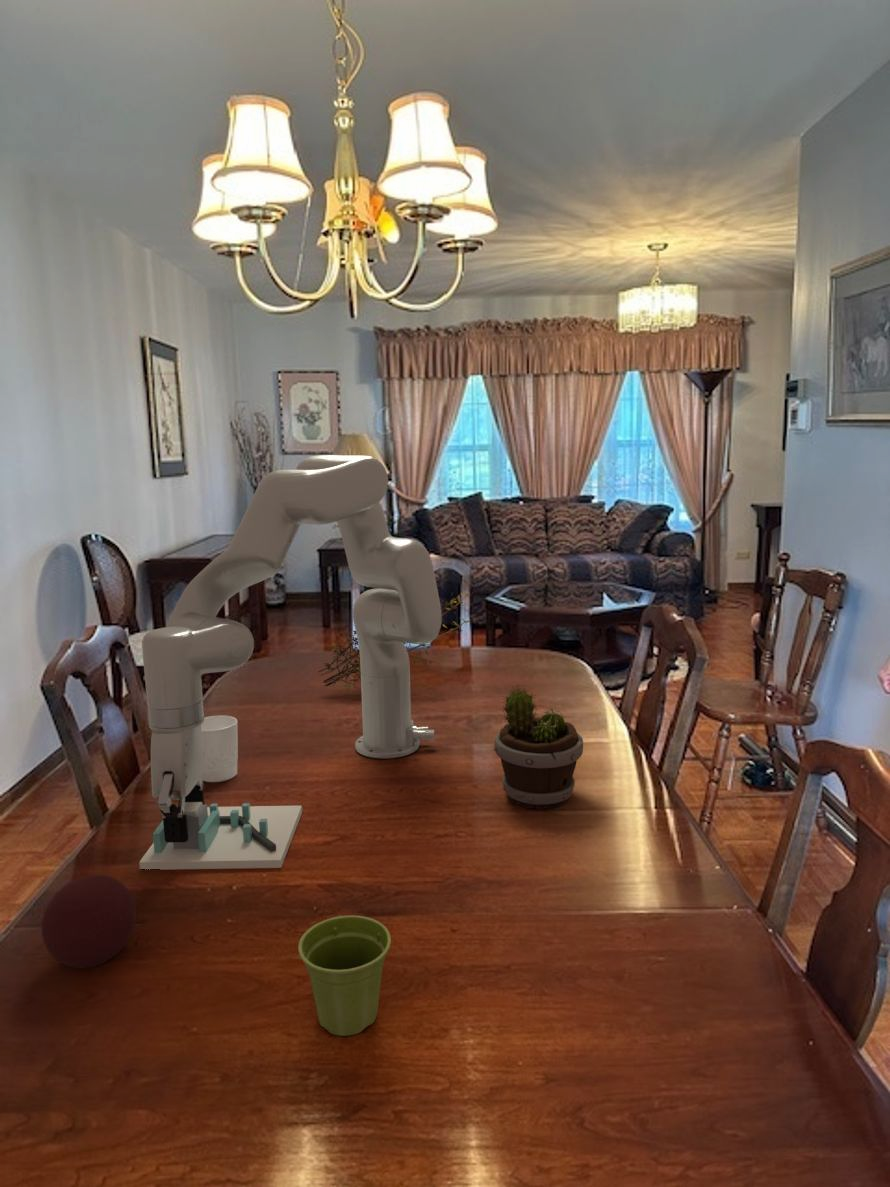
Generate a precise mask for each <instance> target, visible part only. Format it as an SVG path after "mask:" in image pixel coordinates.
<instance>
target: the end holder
mask: <svg viewBox="0 0 890 1187" xmlns="http://www.w3.org/2000/svg"><path fill="white" fill-rule="evenodd" d="M217 833H218V825H217V814H210V815H209V816H208V818H207V819H206V821H205V823H204V824H203V826H202V827H201V829H200V831H199V832H198V841H199V852H207V850H208V849H209V847H210V845H211V843H212V842H213V840H214V838H215V836H216V835H217ZM152 841H153V843H154V853H162V851H163V850H164V848H165V847H166V846H167V844H168V842H166V841H165V836H164V824H163V820H162V821H160V823H159V825H158V826H157V827H156V828H155V830H154V832H153V833H152Z"/></svg>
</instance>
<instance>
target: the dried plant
mask: <svg viewBox="0 0 890 1187" xmlns="http://www.w3.org/2000/svg"><path fill="white" fill-rule="evenodd" d="M465 581H467V578H466V579H465ZM464 586H467V583H465V585H464ZM458 588H459V590H460V593H459V594H458V595H457V597H456V598H455V596H452V599H451V600H450V602H448V601H445V603H444V602H443V599H442V598H440V600H441V601H440V602H442V603H444V604H443V605H444V607H443V608H441V612H442V611H443V610H444V609H445V610H446V611H445V612H443V613H441V614H442V616H443V615H445V614H447V613H448V612H450V611H451V610H457V609H458V605H459V604H460V605H462V606H465V605H464V604H463V601H464V599H465V598H468V597H471V596H472V595H474V596H476V594H474V593H473V594H469V593H467V592H466V591H465V592H464V588H461V587H458ZM463 592H464V593H465V597H463V598H460V596H461V595H463ZM453 593H454V592H451V594H453ZM468 599H469V601H470V598H468ZM456 600H457V601H458V603H457V601H456ZM454 603H455V605H453V604H454ZM449 605H450V607H451V608H450V607H448V606H449ZM453 612H454V614H455V615H456V614H457V612H456V611H453ZM471 618H472V620H473V621H476V618H475V617H473V615H472V616H471ZM459 620H461V621H463V622H462V623H461V624H459V623H457V622H455V621H452V622H453V625H454V626H456V627H455V628H454V627H453V628H452V627H451V628H450V629H449V630H448V631H446V632H444V633H442V634H440V635H437V637H436V638H435V639H437V638H440V637H442V636H445V635H446V634H448V633H450V632H452V638H453V639H455V637H457V630H456V629H458V630H459V631H460V633H462V631H463V630H462V628H461V626H462V625H463V624H466V625H467V626H466V627H467V628H466V629H467V630H468V628H469V627H468V623H471V619H469V620H465V619H464V618H461V617H459ZM442 627H444V628H446V629H448V627H447V626H446V625H445V623H444V624H442ZM347 629H348V630H349V637H348V636H347V635H345V636H346V642H345V643H344V644H343V645H342V646H341V644H340V639H337V640H338V641H337V644H338V647H339V648H338V647H336V646H335V645H332V647H331V649H333V653H331V654H332V655H334V656H333V658H332V661H331V663H330V664H329V663H326V662H325V663H323V664H324V667H326V668H323V669H320V670H319V671H318V673H320V672H323V671H325V670H327V672H325V673H322V674H319V677H320V676H321V677H322V676H324V675H326V674H329V673H330V674H331V673H332V672H334V671H335V670H337V671H338V672H337V673H335V674H333V675H332V676H330V677H328V678H326V679H324V680H323V681H322V683H324V685H323V687H329V686H330V685H332V684H333V685H336V684H337V682H339V681H340V682H343V683H341V685H344V687H346V686H347V688H346V690H350V689H351V686H352V685H353V687H354V688H355V689H357V686H355V684H357V683H361V667H360V661H359V662H358V660H357V659H359V660H360V651H359V649H358V648H359V643H358V638H357V636H355V635H357V634H356V630H350V629H352V626H351V625H350V626H349V627H347ZM352 632H353V635H352ZM435 639H434V640H435ZM434 640H433V641H431V645H435V641H434ZM349 642H351V643H349ZM348 643H349V644H348ZM403 643H404V642H403ZM346 644H348V646H347V647H344V646H345V645H346ZM404 645H405V647H406V649H408V648H410V647H411V646H412V644H410V643H404ZM429 645H430V643H427V644H418V645H417V646H415V647H412V648H411V649H408V650H407V652H411V651H413V650H415V649H417V648H419V647H422V648H423V649H425V648H428V649H431V647H430V646H429ZM357 646H358V647H357ZM424 647H425V648H424ZM348 650H349V651H348ZM356 650H357V651H356ZM355 652H356V653H355ZM351 653H352V654H351ZM425 653H426V655H427V656H429V653H428V652H427V650H426V649H425ZM335 655H336V656H335ZM341 657H344V659H341ZM410 657H412V658H413V662H414V664H416V663H420V662H422V664H425V661H426V662H428V663H429V666H430V667H431V666H432V663H436V664H437V662H435V661H434V660H426V659H423V658H421V657H417V656H412V655H410ZM354 659H355V660H354ZM352 660H354V661H353V663H352ZM419 660H420V661H419ZM335 663H336V666H335V667H331V666H332V665H333V664H335ZM343 665H344V666H343ZM349 665H350V666H351V667H349ZM342 666H343V668H342V669H341V671H340V667H342ZM438 666H441V662H438ZM358 673H359V674H358ZM413 673H414V674H415V675H417V674H418V673H417V672H416V673H415V672H414V671H413V672H412V671H411V674H413ZM353 674H355V676H354V675H353ZM350 676H352V677H353V679H349V677H350ZM416 677H417V676H416ZM344 678H345V680H344ZM348 680H349V681H348ZM358 680H360V681H358ZM353 682H354V683H353ZM410 684H411V685H413V686H414V685H415V684H418V685H419V683H418V682H414V681H411V680H410ZM421 685H422V686H423V684H421V683H420V686H421ZM424 686H426V687H429V688H430V690H433V691H434V693H438V690H437V689H436V688H434V687H432V686H431V687H430V686H429V685H425V684H424ZM344 687H343V688H344ZM439 692H440V694H441V695H443V696H444V693H443V692H442V691H439Z"/></svg>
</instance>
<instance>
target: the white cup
mask: <svg viewBox="0 0 890 1187" xmlns="http://www.w3.org/2000/svg"><path fill="white" fill-rule="evenodd" d="M201 731H202V738H203V746H204V759H205V769H204V773H203V775H202V777H201V778H202V781H203V782H207V783H219V782H226V781H228V780H231V779H233V778H234V777H235V776H237V775H238V759H239V755H238V753H239V745H238V744H239V743H238V742H239V739H238V738H239V737H238V735H239V734H238V733H239V732H238V719H237V718H236V717H234V716H231V715H220V714H219V715H211V716H206V717H205V716H204V722H203V723H202V724H201Z"/></svg>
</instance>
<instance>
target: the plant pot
mask: <svg viewBox="0 0 890 1187" xmlns="http://www.w3.org/2000/svg"><path fill="white" fill-rule="evenodd" d="M391 938H392V936H391V933H390V932H389V930H388V928H387V927H386V926H385V925H384V924H382V923H381V922H380V921H378V920H377V919H374V918H371V917H367V916H362V915H339V916H334V917H330V918H327V919H324V920H321V921H320V922H318V923H316V924H314V925H312V926H311V927H310V928H309V929H307V930H306V931H305V932H304V933H303V934H302V936H301V937H300V938H299V939H300V940H299V941H298V947H297V948H298V954H299V957H300V959H301V961H302V962H303V963H304V966H305V968H306V971H308V975H309V979H310V984H311V989H312V994H313V998H314V1003H315V1009H316V1014H317V1018H318V1023H319V1024H320V1027H323V1028H324V1029H326V1030H327V1031H328V1032H329V1033H330V1034H331V1035H335V1036H342V1037H343V1036H346V1037H347V1036H354V1035H357V1034H359V1033H361V1032H363V1031H364V1030H365V1029H366V1028H367V1027H368V1026H370V1025H373V1023H374V1022H375V1021H376V1018H377V1017H378V1010H379V1009H378V1008H379V1002H380V1001H379V1000H380V991H381V983H382V982H381V981H382V976H383V975H382V974H383V966H384V963H385V960H386V957H387V953H388V952H389V951H390V948H391V941H392V939H391Z"/></svg>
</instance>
